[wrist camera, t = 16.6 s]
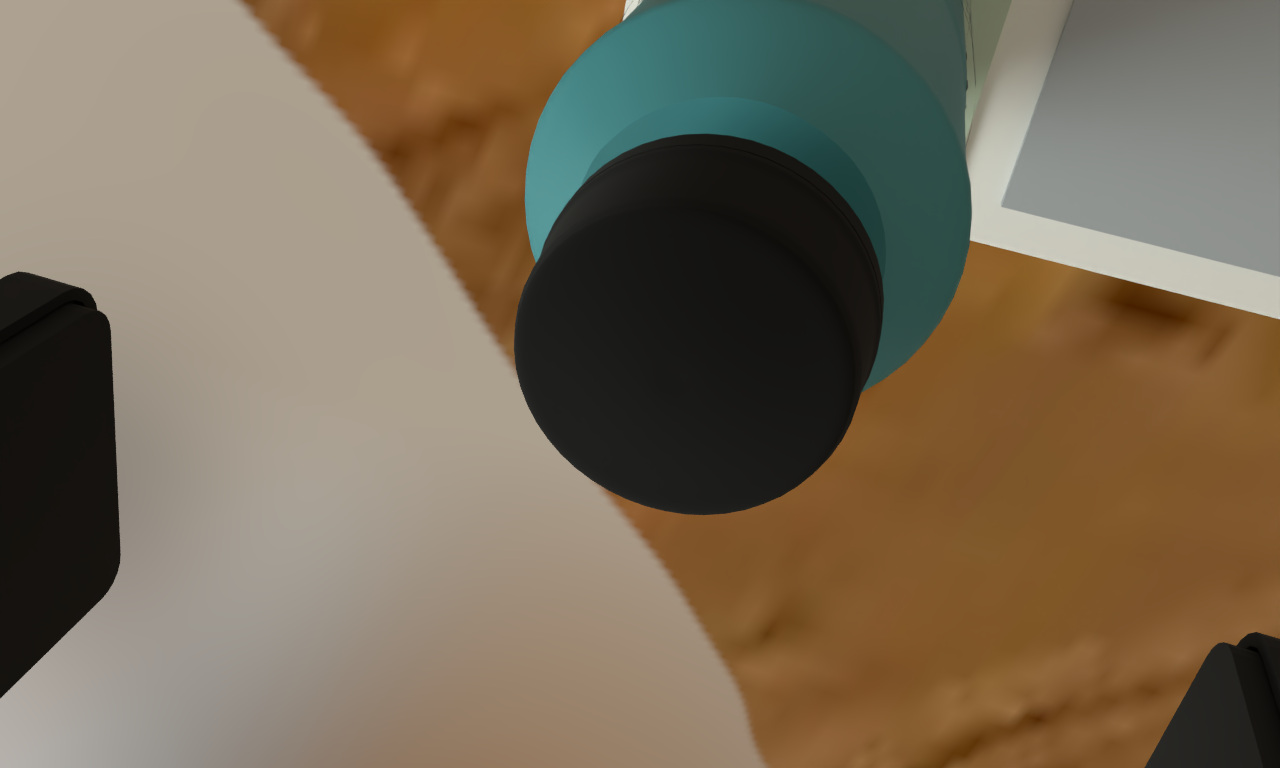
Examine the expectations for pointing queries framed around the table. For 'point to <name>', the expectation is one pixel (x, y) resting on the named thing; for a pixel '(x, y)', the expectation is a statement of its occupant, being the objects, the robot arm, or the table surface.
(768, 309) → the beverage bottle
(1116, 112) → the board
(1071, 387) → the table surface
